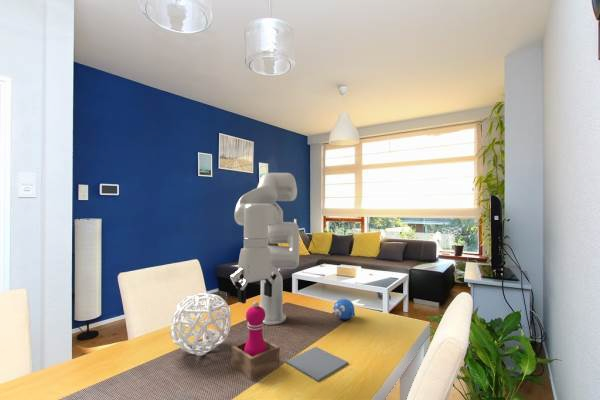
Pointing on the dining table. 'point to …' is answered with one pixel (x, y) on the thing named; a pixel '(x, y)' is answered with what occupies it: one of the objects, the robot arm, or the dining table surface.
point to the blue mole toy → (344, 309)
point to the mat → (316, 363)
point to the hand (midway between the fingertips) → (255, 299)
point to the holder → (255, 360)
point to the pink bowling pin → (255, 330)
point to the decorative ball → (192, 323)
